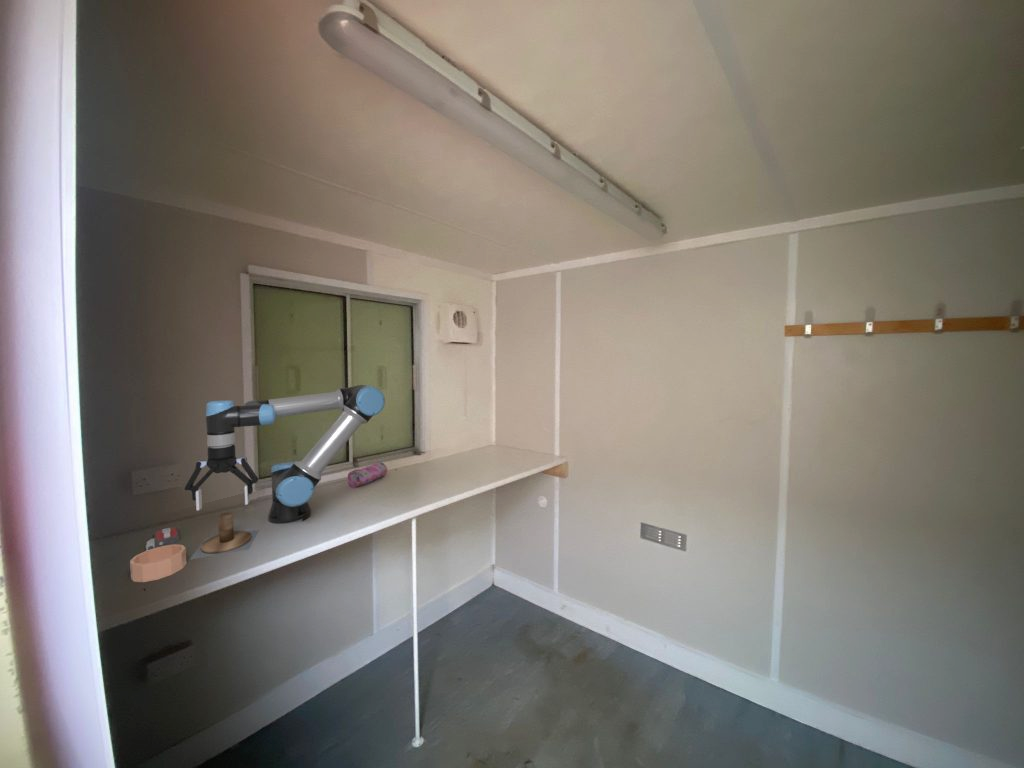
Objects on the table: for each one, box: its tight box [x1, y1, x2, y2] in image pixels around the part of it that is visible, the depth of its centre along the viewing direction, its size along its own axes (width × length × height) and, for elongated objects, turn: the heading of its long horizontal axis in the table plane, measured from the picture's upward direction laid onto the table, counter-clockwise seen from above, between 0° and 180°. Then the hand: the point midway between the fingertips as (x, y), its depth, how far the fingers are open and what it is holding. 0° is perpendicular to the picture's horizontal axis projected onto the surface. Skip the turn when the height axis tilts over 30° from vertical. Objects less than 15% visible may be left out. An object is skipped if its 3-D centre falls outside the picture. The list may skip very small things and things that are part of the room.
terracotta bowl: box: [129, 543, 187, 583], centre depth 114 cm, size 12×12×6 cm
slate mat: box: [188, 529, 259, 561], centre depth 131 cm, size 16×16×1 cm
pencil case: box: [347, 461, 388, 489], centre depth 199 cm, size 21×9×9 cm, turn 154°
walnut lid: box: [200, 512, 251, 554], centre depth 131 cm, size 14×14×10 cm
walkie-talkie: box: [145, 526, 181, 551], centre depth 132 cm, size 9×4×20 cm
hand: (223, 506), depth 130 cm, fingers open, 13 cm apart
